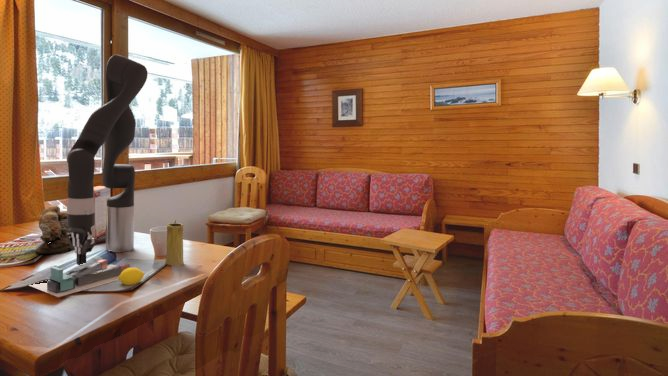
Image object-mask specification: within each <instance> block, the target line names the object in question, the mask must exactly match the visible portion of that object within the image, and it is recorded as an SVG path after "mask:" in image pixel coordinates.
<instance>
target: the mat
mask: <svg viewBox="0 0 668 376" xmlns="http://www.w3.org/2000/svg"><path fill="white" fill-rule="evenodd" d="M116 266H117V265H116V264H112V263H111V264H107V268H105V269H108V268H112V267H116ZM103 270H104V269H103ZM119 276H120V275H117V276H113V277H110V278H106V279H102V280H99V281H95V282H92V283H88V284H84V285H81V286H77V285H75V289H71V290H67V291H64V292H60V293H57V294H56V293H53V292H51V291H48V290H47V283H40V284H35V283H32V284H33V285H31V284H28V286H29V287H31V288H34V289H37V290H39V291H42V292H45V293H46V294H49V295H51V296H54V297H56V298H61V297H64V296H68V295H71V294H75V293H79V292H81V291H84V290H88V289H92V288H95V287H99V286H102V285H105V284H106V285H107V284H110V283H113V282H115V281H120V280H119Z"/></svg>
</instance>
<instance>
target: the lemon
mask: <svg viewBox="0 0 668 376" xmlns="http://www.w3.org/2000/svg"><path fill="white" fill-rule="evenodd" d="M144 276H145V273H144V272H143V271H142V270H141V269H139V268H137V267H130V268H127V269H125V270H124V271H122V273H121V274H120V276H119V280H118V281H120V283H121V284H122V285H125V286H134V285H137V284H139V283H140V282H141V281H142V279H143V278H144Z"/></svg>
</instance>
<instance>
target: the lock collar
mask: <svg viewBox="0 0 668 376" xmlns="http://www.w3.org/2000/svg"><path fill="white" fill-rule="evenodd" d="M69 275H70V274H65V273H64V269H63V268H59V267H57V266H51V267H50V275H48V277H49V278H48V280H54V281H57V282H60V291H65V290H68V289H72V288H73V277H72V276H69Z"/></svg>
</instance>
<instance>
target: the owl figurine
mask: <svg viewBox="0 0 668 376" xmlns="http://www.w3.org/2000/svg"><path fill="white" fill-rule="evenodd" d="M38 228H39V229H40V231H41V236H40V237H39V238H40V240H42V242H43V243H41V244H40V245H39V246H38V247H36V248H35V252H37V253H36V254H37V255H61V254H65V253H68V252H69V251H72V252H73V250H72V249H71V247H70V244H69V242H68V240H67V237H66V234H70V233H71V228H70V227H68V226H67V210H61V208H60V207H59V206H58V205H57V204H54V205H53V204H51V205H49V206H46V207H45V208H44V210H43V211H42V213H41V214H40V215H39V218H38ZM49 242H51V243H49ZM48 243H49V244H48Z"/></svg>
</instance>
